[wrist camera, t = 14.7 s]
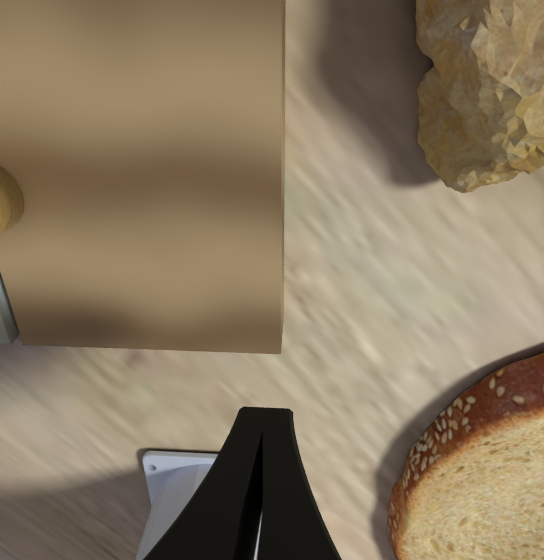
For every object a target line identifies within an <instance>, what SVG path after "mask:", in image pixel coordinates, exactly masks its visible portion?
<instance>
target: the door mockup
mask: <svg viewBox="0 0 544 560" xmlns="http://www.w3.org/2000/svg"><path fill="white" fill-rule="evenodd" d="M284 136H285V0H0V166H1V167H3V168H4V169H5V170H7V171H8V172H9V173H10V174H11V175H12V176H13V177H14V179H15V180H16V181H17V183H18V184H19V186H20V188H21V190H22V193H23V197H24V203H25V206H24V213H23V215H22V217H21V219H20V220H19V222H18V223H17V224H15V225H14V226H13V227H11V228H10V229H9V230H7V231H6V232H5V233H3V234H2V235H0V344H11V343H12V342H13V341H14V340H15V339H16V338H17V336H18V335H19V334H20V335H21V339H22V342H23V345H46V346H73V347H100V348H127V349H154V350H182V351H209V352H236V353H263V354H281V343H282V331H283V291H284Z"/></svg>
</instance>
